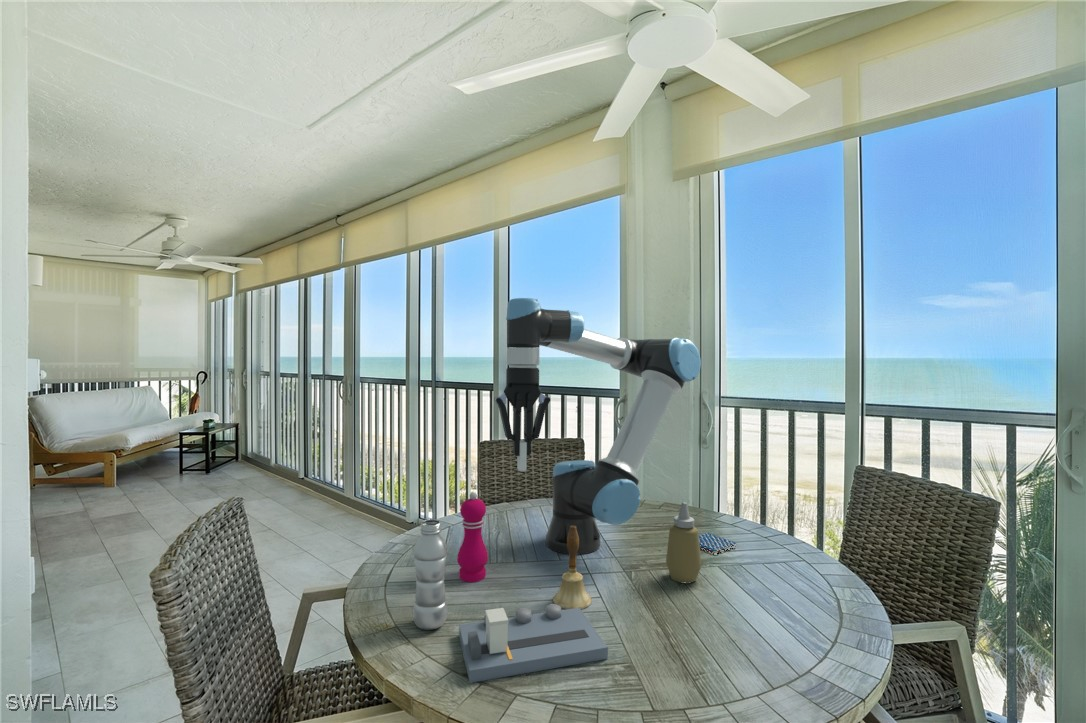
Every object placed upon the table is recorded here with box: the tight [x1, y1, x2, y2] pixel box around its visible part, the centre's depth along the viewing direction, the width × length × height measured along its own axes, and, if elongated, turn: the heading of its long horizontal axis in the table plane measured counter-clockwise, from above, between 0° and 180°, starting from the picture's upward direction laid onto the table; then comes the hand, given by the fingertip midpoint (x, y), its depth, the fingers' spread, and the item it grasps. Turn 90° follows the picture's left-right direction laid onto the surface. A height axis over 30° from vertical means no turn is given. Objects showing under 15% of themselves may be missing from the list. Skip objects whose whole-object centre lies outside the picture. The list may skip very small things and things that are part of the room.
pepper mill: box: [456, 491, 489, 583], centre depth 117 cm, size 7×7×20 cm
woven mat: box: [699, 532, 738, 555], centre depth 138 cm, size 10×11×2 cm
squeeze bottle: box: [665, 501, 702, 584], centre depth 118 cm, size 8×8×18 cm
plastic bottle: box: [412, 519, 448, 631], centre depth 96 cm, size 6×7×20 cm
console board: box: [458, 603, 609, 684], centre depth 89 cm, size 24×14×4 cm, turn 106°
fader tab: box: [484, 607, 509, 654], centre depth 86 cm, size 3×4×5 cm
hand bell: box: [552, 526, 593, 610], centre depth 106 cm, size 8×8×16 cm
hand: (521, 469), depth 113 cm, fingers closed
